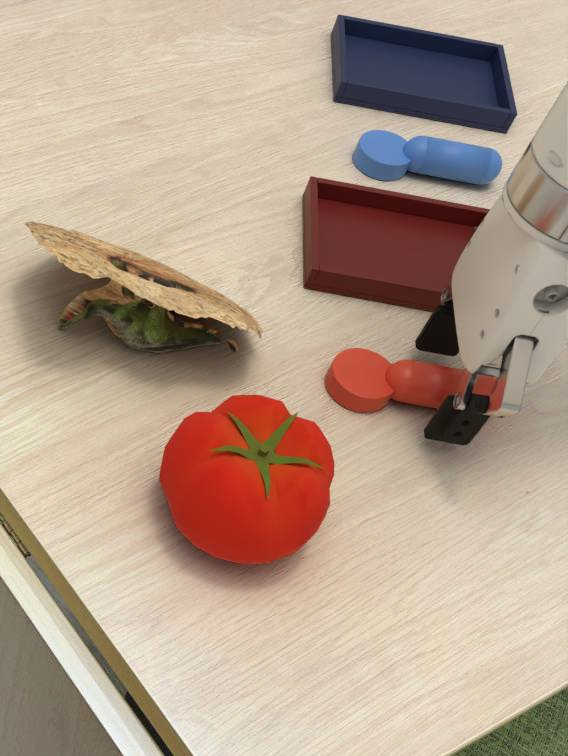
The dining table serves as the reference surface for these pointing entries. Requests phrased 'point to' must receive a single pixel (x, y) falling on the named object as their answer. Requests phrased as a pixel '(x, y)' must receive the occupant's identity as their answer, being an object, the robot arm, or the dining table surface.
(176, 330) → the sandwich
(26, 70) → the dining table surface
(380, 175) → the blue spoon
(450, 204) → the red tray
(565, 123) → the robot arm
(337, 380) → the red spoon
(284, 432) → the tomato
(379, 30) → the blue tray
